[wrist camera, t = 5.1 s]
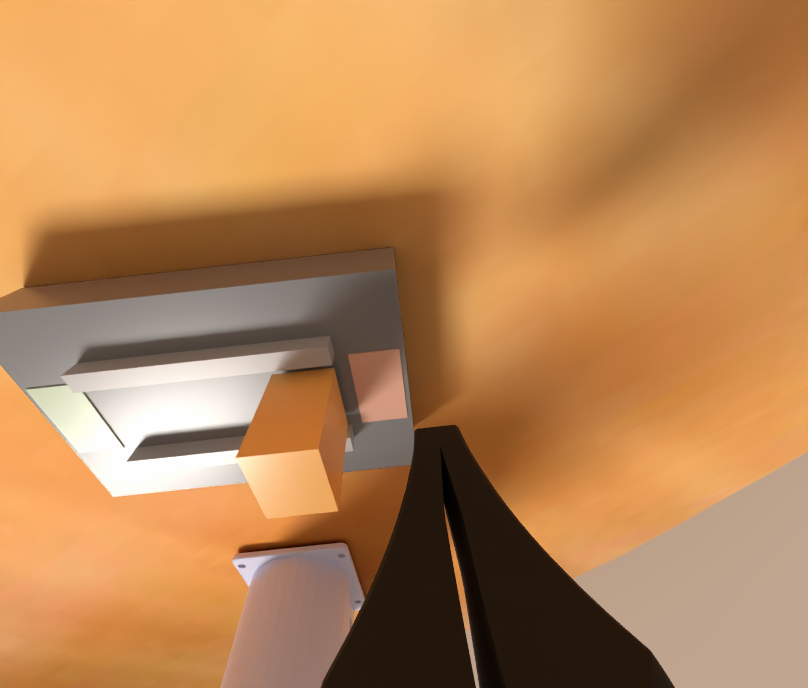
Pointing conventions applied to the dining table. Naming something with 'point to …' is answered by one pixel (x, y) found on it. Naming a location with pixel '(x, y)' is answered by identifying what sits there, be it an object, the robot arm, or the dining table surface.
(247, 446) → the handle
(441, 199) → the dining table surface
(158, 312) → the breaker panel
